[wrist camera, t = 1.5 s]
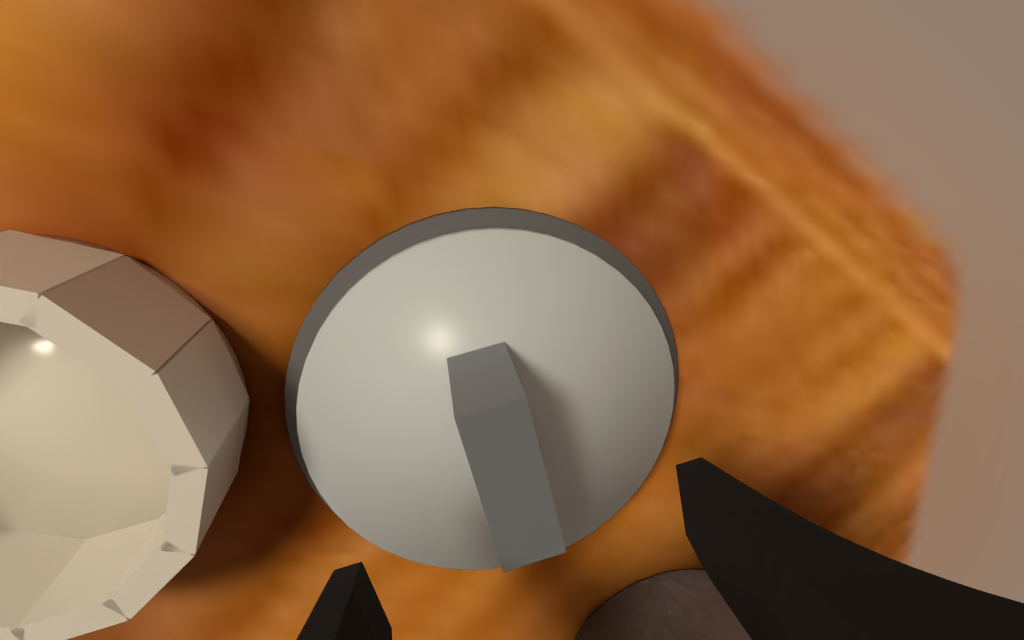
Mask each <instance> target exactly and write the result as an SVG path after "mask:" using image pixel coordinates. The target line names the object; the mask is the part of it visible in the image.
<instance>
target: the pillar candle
mask: <svg viewBox="0 0 1024 640" xmlns="http://www.w3.org/2000/svg"><path fill="white" fill-rule="evenodd" d="M575 640H752V639H751V638H750V636H749V635H748V633H747V632H746V631H745V629H744V628H743V626H742V625H741V623H740V622H739V620H738V619H737V618H736V616H735V615H734V613H733V612H732V610H731V609H730V607H729V606H728V605H727V603H726V602H725V600H724V599H723V597H722V596H721V594H720V593H719V591H718V590H717V588H716V587H715V586H714V584H713V583H712V581H711V580H710V578H709V577H708V575H707V573H706V571H705V570H698V569H687V570H683V569H682V570H675V571H669V572H666V573H662V574H657V575H655V576H652V577H650V578H648V579H645V580H642V581H639V582H637V583H634V584H632V585H630V586H628V587H626V588H625V589H624V590H622V591H621V592H619V593H618V594H616V595H615V596H613V597H612V598H610V599H609V600H608V601H606V602H605V604H604V605H603V606H602V607H600V608H599V609H598V610H597V611H596V612H595V613H593V614H592V615H591V617H590V618H589V619H588V620H587V621H586V622H585V624H584V626H583V628H582V629H580V631H579V632H578V634H577V636H576V638H575Z"/></svg>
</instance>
